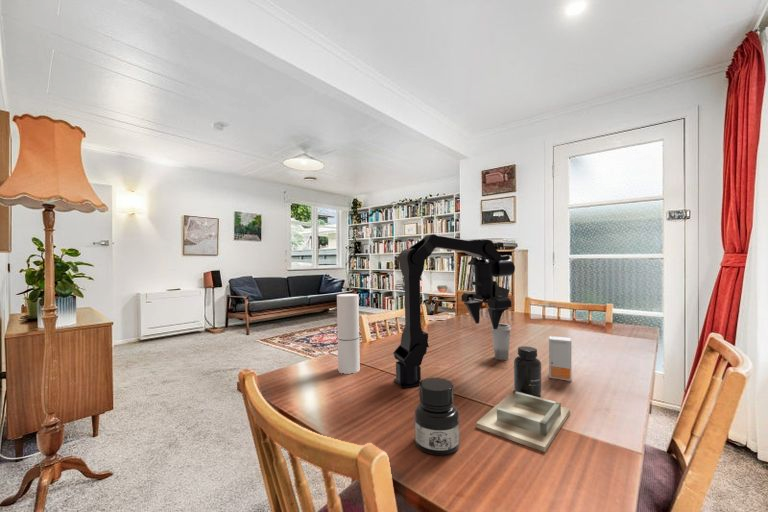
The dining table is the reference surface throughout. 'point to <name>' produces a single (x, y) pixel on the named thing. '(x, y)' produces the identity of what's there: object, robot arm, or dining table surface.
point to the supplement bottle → (527, 372)
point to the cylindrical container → (348, 333)
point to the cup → (501, 341)
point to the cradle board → (525, 420)
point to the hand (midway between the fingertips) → (486, 326)
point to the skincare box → (560, 358)
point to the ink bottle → (436, 418)
